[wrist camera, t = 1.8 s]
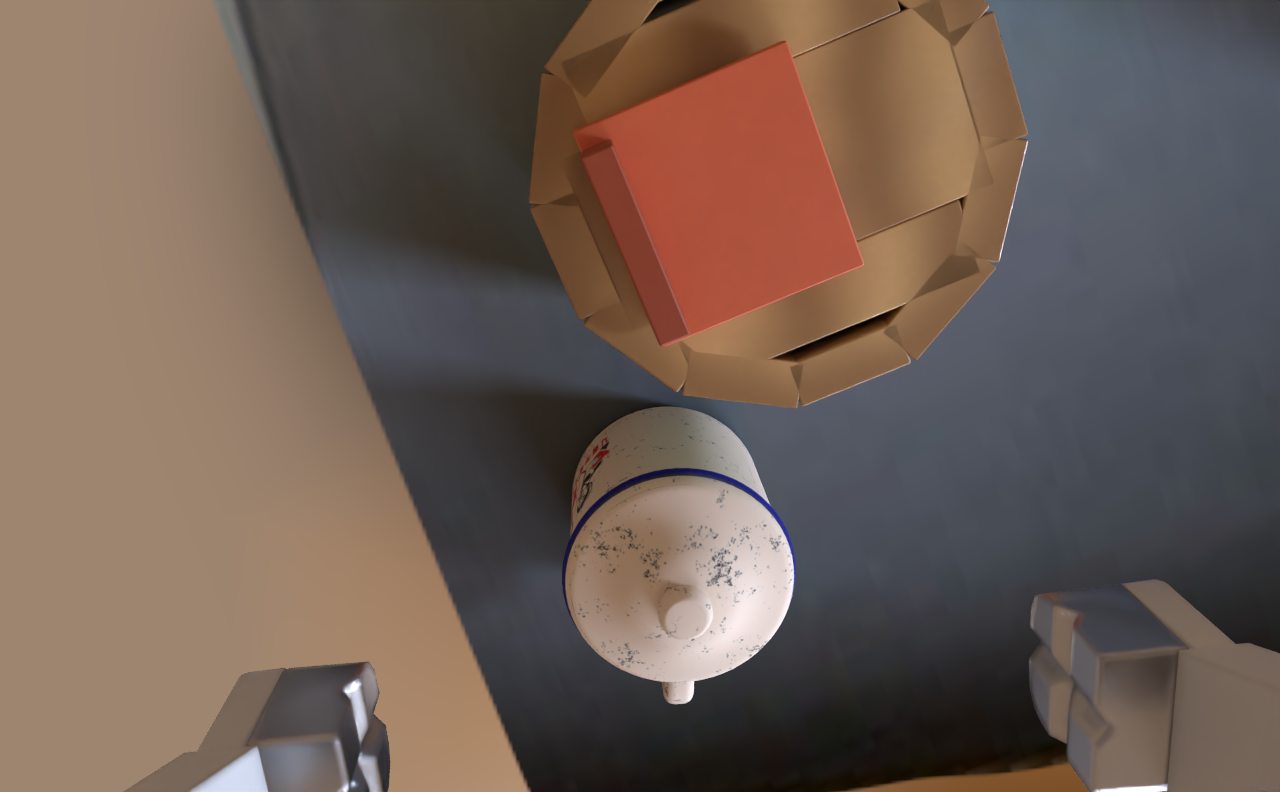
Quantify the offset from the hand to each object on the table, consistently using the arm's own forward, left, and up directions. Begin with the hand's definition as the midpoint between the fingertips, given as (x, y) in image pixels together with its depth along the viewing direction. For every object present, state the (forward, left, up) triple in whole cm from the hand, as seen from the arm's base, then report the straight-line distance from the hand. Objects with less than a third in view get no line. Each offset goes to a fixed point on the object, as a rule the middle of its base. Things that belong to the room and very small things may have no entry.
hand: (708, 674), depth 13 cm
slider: (-4, -2, -21) cm, 22 cm away
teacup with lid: (+3, +13, -34) cm, 36 cm away
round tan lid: (-6, -2, -23) cm, 23 cm away
